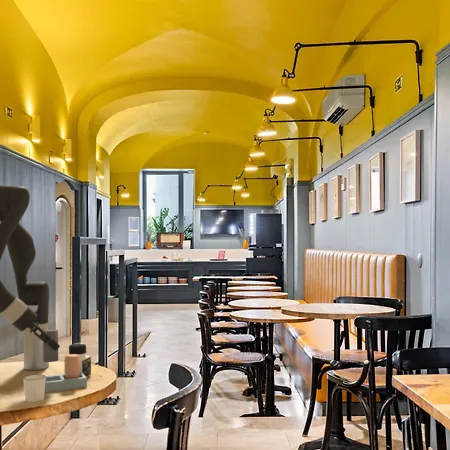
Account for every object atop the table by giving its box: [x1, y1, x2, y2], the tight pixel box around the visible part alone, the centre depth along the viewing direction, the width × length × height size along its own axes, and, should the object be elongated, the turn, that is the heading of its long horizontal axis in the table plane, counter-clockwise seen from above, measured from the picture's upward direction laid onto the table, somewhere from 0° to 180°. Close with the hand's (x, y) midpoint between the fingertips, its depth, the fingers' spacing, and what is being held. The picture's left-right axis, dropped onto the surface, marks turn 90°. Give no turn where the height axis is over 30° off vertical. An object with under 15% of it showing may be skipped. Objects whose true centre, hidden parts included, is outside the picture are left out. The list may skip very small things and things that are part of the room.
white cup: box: [22, 374, 47, 403], centre depth 182 cm, size 7×7×7 cm
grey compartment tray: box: [45, 354, 88, 393], centre depth 196 cm, size 9×15×10 cm, turn 114°
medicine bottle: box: [63, 342, 92, 378], centre depth 208 cm, size 7×7×12 cm
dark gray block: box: [43, 329, 59, 363], centre depth 195 cm, size 5×5×10 cm
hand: (56, 347), depth 196 cm, fingers closed on dark gray block, 4 cm apart
